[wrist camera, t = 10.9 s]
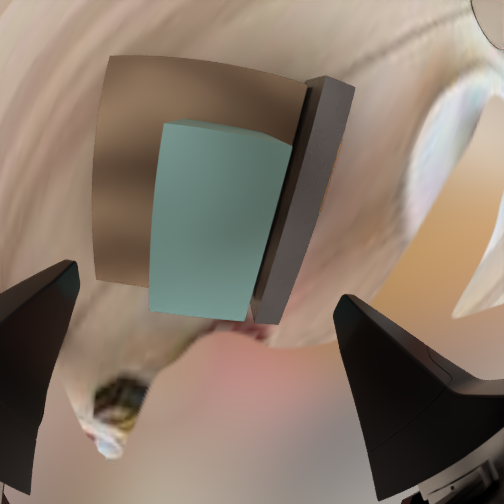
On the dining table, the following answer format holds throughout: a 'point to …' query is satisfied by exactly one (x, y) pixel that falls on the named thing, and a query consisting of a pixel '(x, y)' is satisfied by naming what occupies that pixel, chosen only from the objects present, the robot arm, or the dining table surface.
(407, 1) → the dining table surface
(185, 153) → the teal carton
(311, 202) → the price rail
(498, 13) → the pill bottle
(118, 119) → the shelf board
